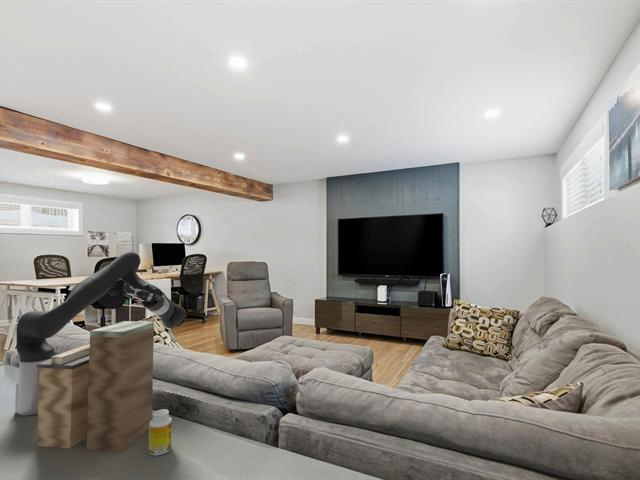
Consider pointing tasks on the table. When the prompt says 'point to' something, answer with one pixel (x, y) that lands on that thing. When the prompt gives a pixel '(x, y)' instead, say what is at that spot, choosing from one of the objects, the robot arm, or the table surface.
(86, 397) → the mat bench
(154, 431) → the supplement bottle
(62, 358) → the slat
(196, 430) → the table surface
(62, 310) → the robot arm
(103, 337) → the walnut stand
